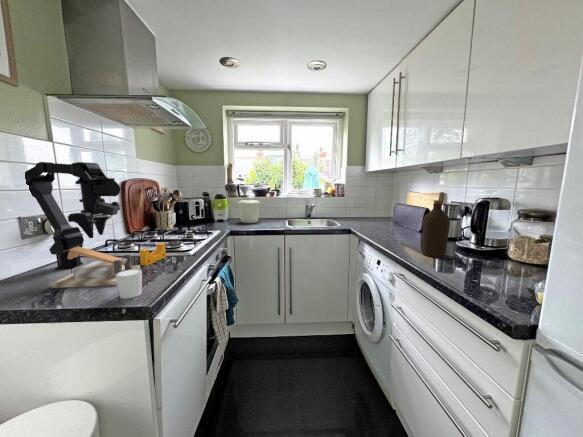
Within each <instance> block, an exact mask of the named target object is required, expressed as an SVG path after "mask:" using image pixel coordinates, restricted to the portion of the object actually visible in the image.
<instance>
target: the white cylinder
mask: <svg viewBox="0 0 583 437" xmlns="http://www.w3.org/2000/svg"><path fill="white" fill-rule="evenodd" d="M115 276H116V281H117V285H116V286H117V289H118V293H119V297H120V299H133V298H137V297H138V296H140V295H141V294H142V290H143V287H142V283H143V281H142V280H143V270H142V269H130V270H125V271H121V272H119V273H117V274H116V275H115Z"/></svg>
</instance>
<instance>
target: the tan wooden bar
mask: <svg viewBox="0 0 583 437" xmlns="http://www.w3.org/2000/svg"><path fill="white" fill-rule="evenodd" d="M79 255H80V256H83V257H85V258H89V259H93V260H95V261H96V260H97V261H103V262H107V263H110V264H114V263H113V261H114V260H121V265H122V266H123V265H124V264H125V263H126V262H127V261H128V258H124V257H123V258H121V257H117V256H114V255H110V254H106V253H103V252H99V251H97V250H92V249H89V248H85V247H84V246H82V247H79V246H77V247H74V248H72V249H70V250H69V254H68V258H67V259H73V258H75V257H77V256H79Z"/></svg>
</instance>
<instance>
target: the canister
mask: <svg viewBox="0 0 583 437" xmlns="http://www.w3.org/2000/svg"><path fill="white" fill-rule="evenodd" d="M237 204H238V205H237V206H238V211H239V212H238V213H239V218H240V222H241V223H242V224H255V223H257V222H258V221H259V213H260V204H261V202H260V201H259V200H257V199H252V197H251V196H246V199H243V200H239V201H237Z"/></svg>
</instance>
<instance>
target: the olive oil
mask: <svg viewBox="0 0 583 437" xmlns="http://www.w3.org/2000/svg"><path fill="white" fill-rule="evenodd" d="M432 205H433V207H432V210H430V211H429V212H428V213H427V214H425V216H424V218H423V220H422V249H421V250H422V251H421V253H422V255H423V256H424V257H428V258H434V259H436V258H437V259H443V258H446V256H447V247H448V239H449V233H450V225H451V219H450V217H449V216H448V215H447V213H446V212H445V211H444V210H443V200H440V199H439V200H438V199H436V200H433V204H432Z"/></svg>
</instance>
